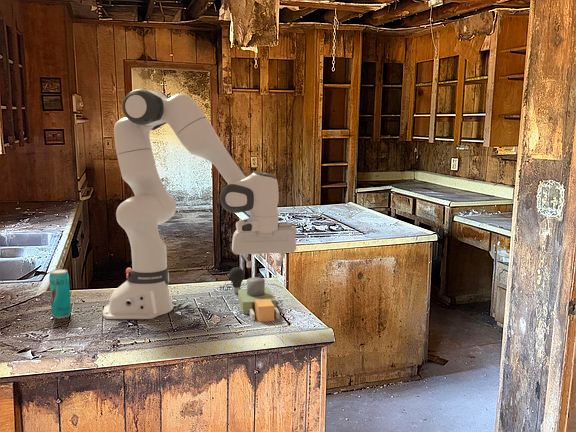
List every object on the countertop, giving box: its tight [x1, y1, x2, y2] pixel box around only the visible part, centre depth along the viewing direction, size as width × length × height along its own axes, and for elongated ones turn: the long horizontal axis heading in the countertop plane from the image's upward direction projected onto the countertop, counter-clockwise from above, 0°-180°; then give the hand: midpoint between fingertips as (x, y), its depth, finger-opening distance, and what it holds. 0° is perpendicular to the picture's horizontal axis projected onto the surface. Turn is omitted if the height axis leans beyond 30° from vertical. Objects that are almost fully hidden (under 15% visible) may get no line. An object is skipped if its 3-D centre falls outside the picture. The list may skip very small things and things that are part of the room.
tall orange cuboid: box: [254, 299, 275, 323], centre depth 172 cm, size 5×7×5 cm
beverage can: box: [48, 268, 72, 320], centre depth 171 cm, size 6×6×15 cm
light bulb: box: [228, 266, 245, 295], centre depth 196 cm, size 6×6×10 cm
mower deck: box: [237, 276, 281, 322], centre depth 179 cm, size 11×20×9 cm, turn 12°
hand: (264, 266), depth 170 cm, fingers open, 8 cm apart
